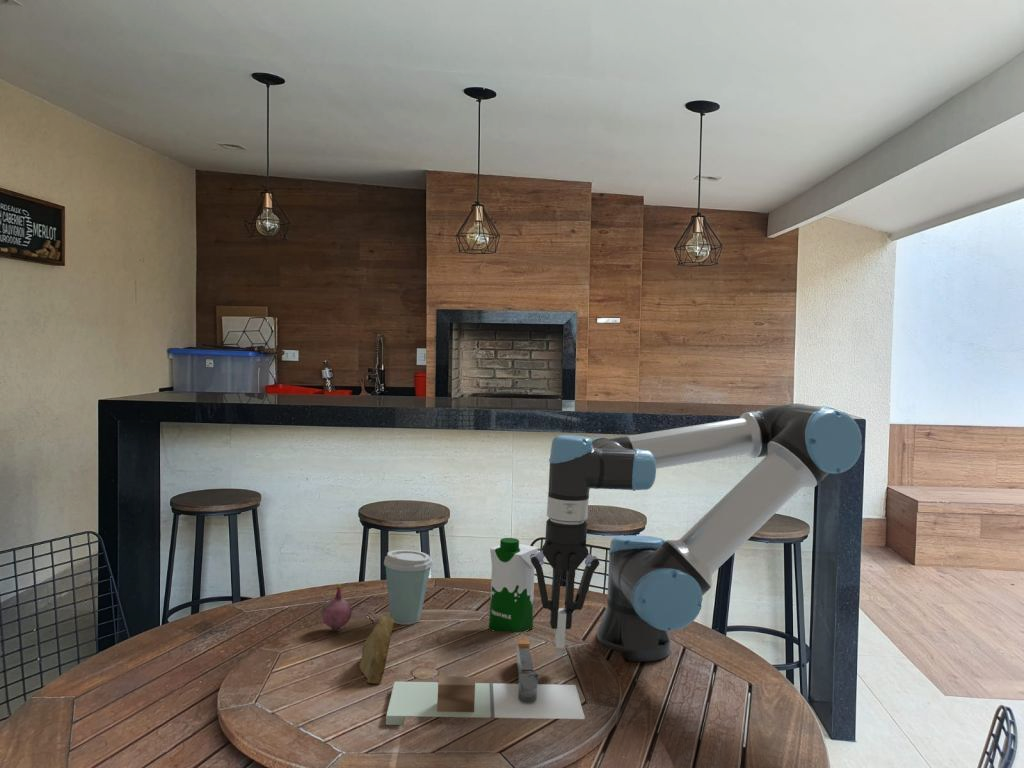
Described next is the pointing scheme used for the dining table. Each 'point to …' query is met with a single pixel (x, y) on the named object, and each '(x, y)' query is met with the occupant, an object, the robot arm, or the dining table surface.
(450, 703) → the block
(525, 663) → the bar
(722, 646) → the dining table surface
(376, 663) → the rock
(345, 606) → the vegetable
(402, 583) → the disposable coffee cup
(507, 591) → the milk carton
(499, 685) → the door plate
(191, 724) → the dining table surface
